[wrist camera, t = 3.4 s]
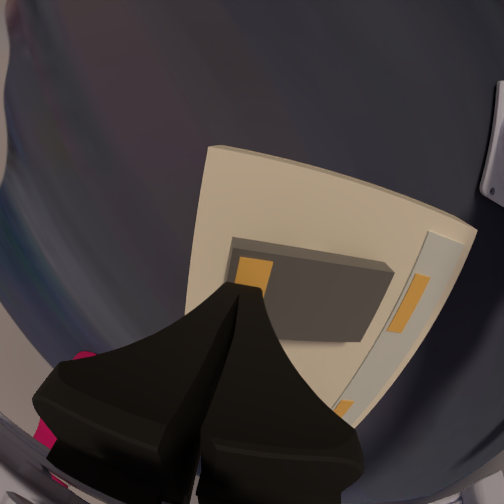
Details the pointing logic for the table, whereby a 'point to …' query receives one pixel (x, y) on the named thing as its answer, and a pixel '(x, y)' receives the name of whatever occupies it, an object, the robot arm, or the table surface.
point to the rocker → (311, 289)
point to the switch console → (339, 242)
